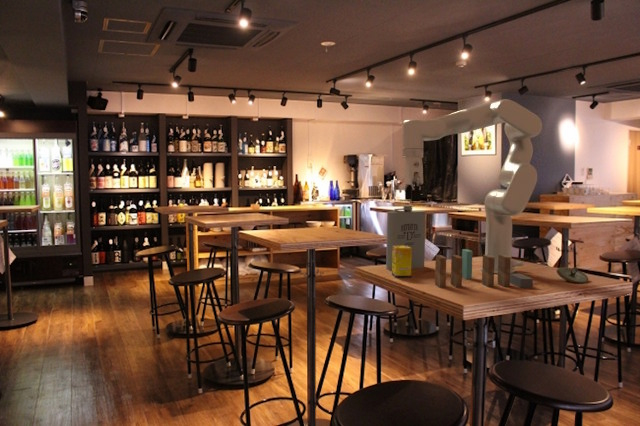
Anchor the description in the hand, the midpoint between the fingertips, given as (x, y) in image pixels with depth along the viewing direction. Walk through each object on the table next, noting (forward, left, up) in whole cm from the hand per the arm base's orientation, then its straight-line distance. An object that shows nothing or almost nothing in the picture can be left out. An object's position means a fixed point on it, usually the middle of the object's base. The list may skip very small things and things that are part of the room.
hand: (412, 200), depth 195 cm
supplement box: (+5, +4, -28) cm, 28 cm away
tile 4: (-21, +21, -28) cm, 40 cm away
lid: (-54, +15, -28) cm, 63 cm away
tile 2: (-10, +21, -28) cm, 36 cm away
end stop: (-32, +21, -28) cm, 47 cm away
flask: (-1, -12, -28) cm, 30 cm away
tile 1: (-4, +21, -28) cm, 35 cm away
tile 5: (-26, +21, -28) cm, 43 cm away
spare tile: (-18, +8, -28) cm, 34 cm away
